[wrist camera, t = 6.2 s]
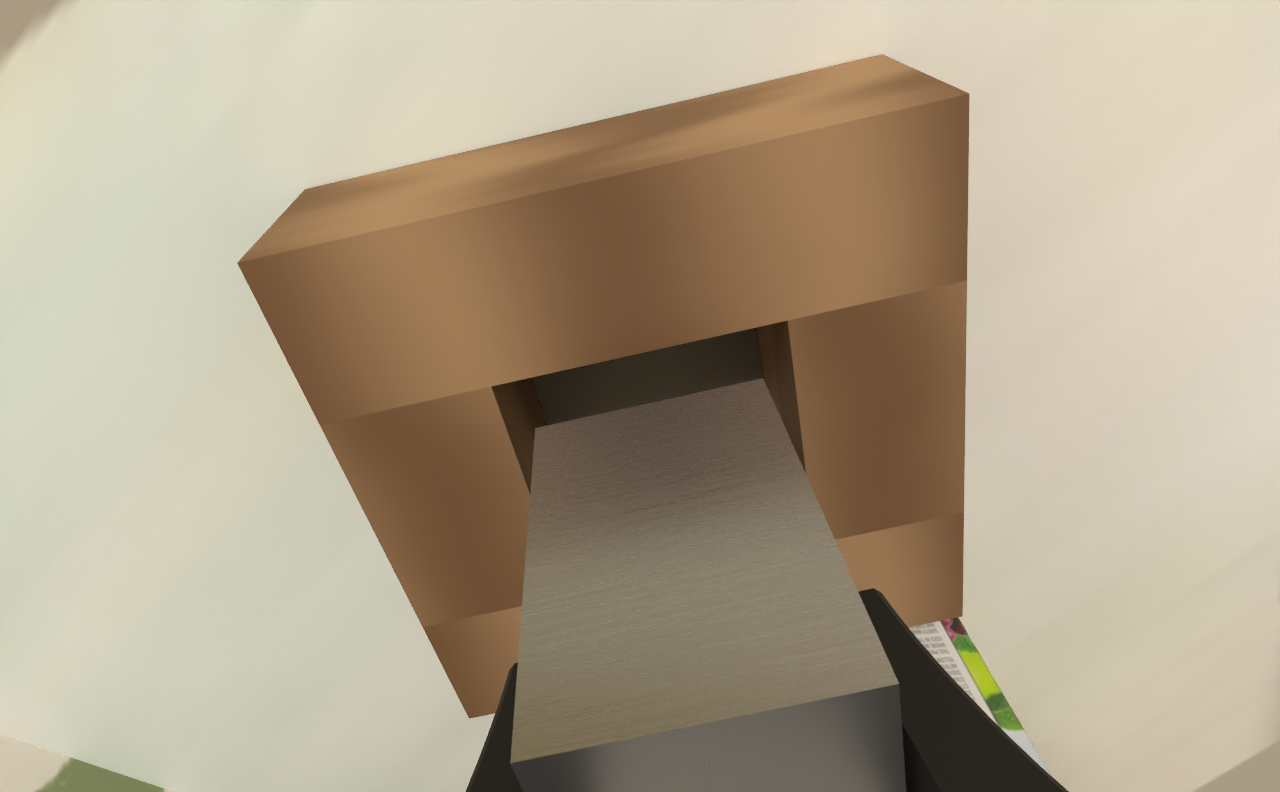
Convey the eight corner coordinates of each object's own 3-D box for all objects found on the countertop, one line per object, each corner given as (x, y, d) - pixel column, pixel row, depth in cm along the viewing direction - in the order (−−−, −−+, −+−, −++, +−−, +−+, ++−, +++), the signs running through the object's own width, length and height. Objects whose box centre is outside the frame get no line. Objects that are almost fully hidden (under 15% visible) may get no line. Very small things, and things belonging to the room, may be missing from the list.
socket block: (882, 54, 16) (969, 93, 13) (900, 508, 22) (962, 615, 19) (305, 189, 16) (237, 263, 13) (483, 596, 23) (469, 718, 19)
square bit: (763, 378, 14) (899, 683, 8) (789, 553, 16) (913, 897, 10) (535, 428, 14) (510, 763, 8) (590, 595, 16) (600, 958, 10)
